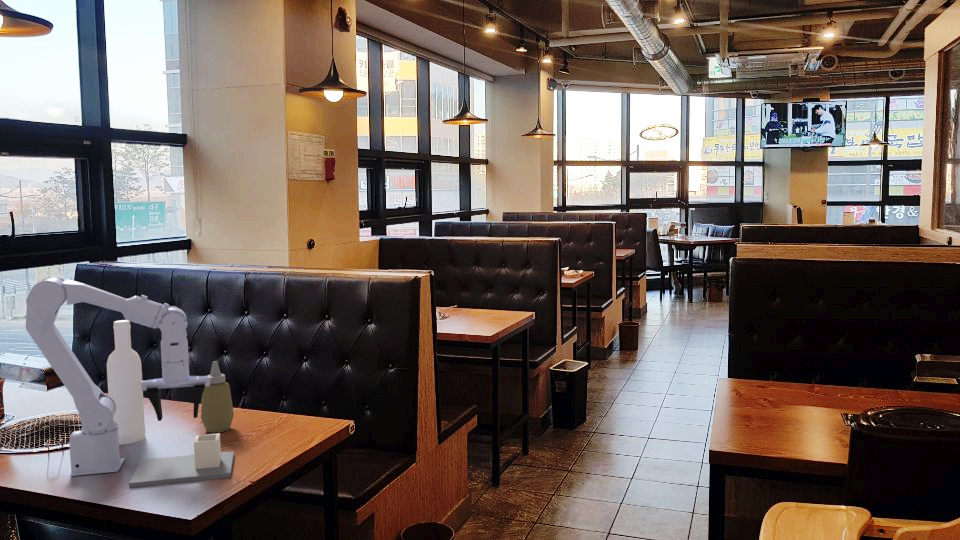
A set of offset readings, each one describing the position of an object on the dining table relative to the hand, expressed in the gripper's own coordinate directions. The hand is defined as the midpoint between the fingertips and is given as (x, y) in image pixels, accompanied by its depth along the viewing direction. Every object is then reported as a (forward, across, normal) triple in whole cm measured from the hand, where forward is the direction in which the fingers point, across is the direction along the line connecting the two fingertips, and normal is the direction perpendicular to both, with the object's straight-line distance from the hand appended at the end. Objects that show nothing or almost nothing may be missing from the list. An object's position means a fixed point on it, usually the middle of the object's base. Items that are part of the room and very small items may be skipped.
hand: (178, 418), depth 169 cm
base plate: (+9, +2, -9) cm, 13 cm away
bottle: (+10, -14, +17) cm, 24 cm away
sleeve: (+8, +7, -9) cm, 14 cm away
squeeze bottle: (+10, +7, +19) cm, 22 cm away
